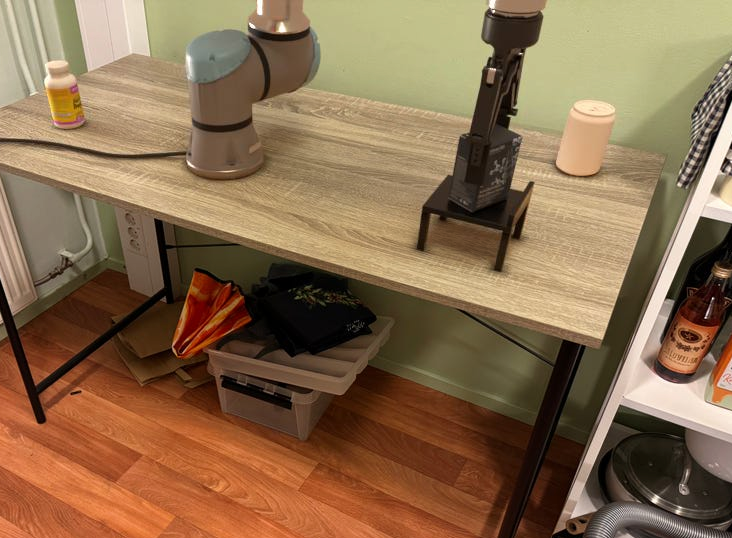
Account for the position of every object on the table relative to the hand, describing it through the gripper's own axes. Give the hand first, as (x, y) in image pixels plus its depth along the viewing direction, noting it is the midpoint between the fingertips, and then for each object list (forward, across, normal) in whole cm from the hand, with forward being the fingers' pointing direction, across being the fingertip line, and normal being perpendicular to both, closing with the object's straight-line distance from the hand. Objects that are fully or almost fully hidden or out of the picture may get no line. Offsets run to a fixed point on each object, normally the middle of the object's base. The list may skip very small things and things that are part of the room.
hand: (483, 169), depth 104 cm
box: (+5, 0, 0) cm, 5 cm away
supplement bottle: (+13, +6, +93) cm, 94 cm away
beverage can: (+13, +36, -10) cm, 40 cm away
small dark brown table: (+13, 0, 0) cm, 13 cm away
